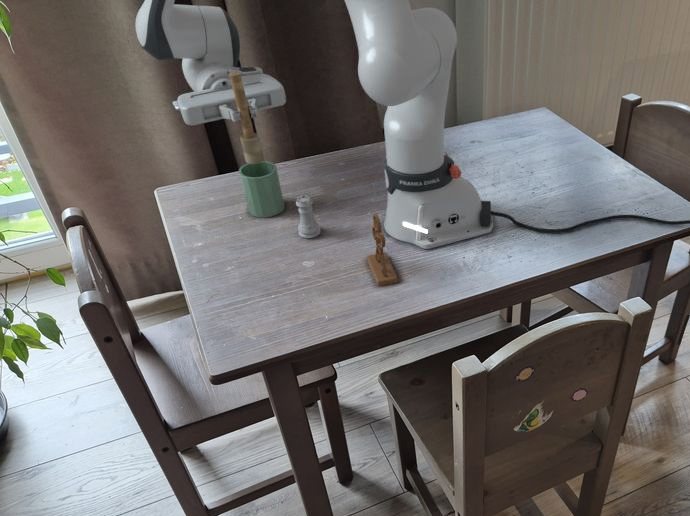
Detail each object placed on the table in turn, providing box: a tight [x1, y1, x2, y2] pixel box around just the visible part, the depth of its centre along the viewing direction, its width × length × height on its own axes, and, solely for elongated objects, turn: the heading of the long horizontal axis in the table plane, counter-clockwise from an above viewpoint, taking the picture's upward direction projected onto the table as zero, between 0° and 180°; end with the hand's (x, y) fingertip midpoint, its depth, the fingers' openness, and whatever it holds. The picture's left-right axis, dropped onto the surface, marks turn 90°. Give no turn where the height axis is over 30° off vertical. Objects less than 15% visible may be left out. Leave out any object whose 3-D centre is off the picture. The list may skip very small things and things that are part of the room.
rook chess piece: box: [295, 194, 322, 240], centre depth 125 cm, size 4×4×8 cm
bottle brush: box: [229, 72, 265, 164], centre depth 121 cm, size 4×4×17 cm
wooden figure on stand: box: [366, 213, 399, 287], centre depth 115 cm, size 9×4×12 cm, turn 20°
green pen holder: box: [238, 160, 286, 218], centre depth 132 cm, size 7×7×9 cm
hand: (245, 115), depth 120 cm, fingers closed on bottle brush, 2 cm apart
